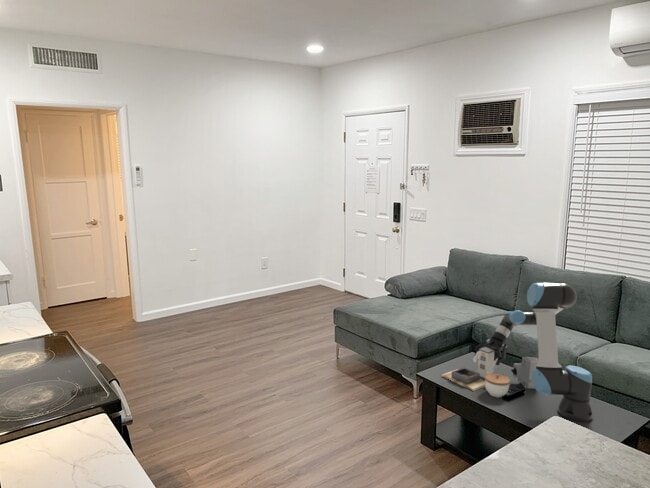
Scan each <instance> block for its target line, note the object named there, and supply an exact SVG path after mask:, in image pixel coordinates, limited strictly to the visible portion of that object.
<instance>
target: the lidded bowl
mask: <svg viewBox="0 0 650 488" xmlns="http://www.w3.org/2000/svg"><path fill="white" fill-rule="evenodd" d="M484 381H485V387H484V388H485V390H486V391H487V392H488V394H489V396H492V397H494V398H503V397H504V396H505V395H507V393H508V391H509V389H510V383H511V379H510V378H509V377H508V376H506V375H503V374H501V373H498V372H497V373H495V372H493V373H489V374H486V375H485V378H484ZM502 396H503V397H502Z"/></svg>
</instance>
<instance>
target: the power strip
mask: <svg viewBox="0 0 650 488" xmlns="http://www.w3.org/2000/svg"><path fill="white" fill-rule="evenodd" d="M495 350H496V349H494V348H487V347H484V348H481V349H479V358H478V359H477V373H479V374H480V378H483V379H485V375H486V374H489V373H494V370H493V369H492V368H491V367H492V365H493V364H494V362H495Z"/></svg>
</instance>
